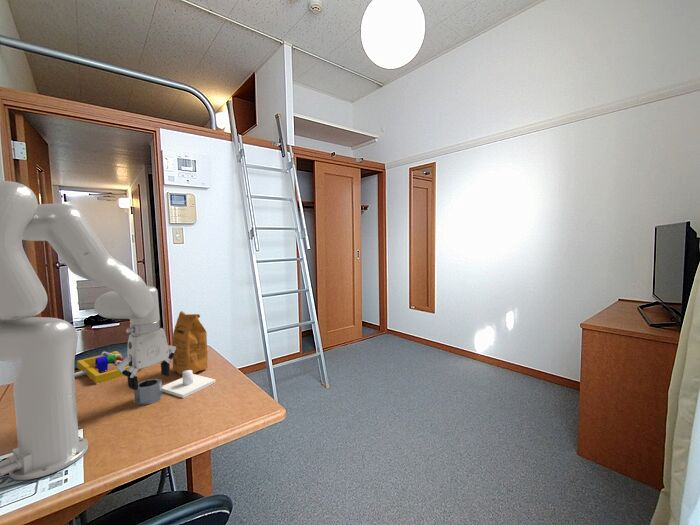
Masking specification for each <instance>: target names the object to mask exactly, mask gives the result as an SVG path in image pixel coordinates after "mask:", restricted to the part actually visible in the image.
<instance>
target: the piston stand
mask: <svg viewBox="0 0 700 525" xmlns="http://www.w3.org/2000/svg"><path fill="white" fill-rule="evenodd" d="M181 376H182V377H180V378H178V379H176V380H173V381H171V382H168V383H166V384H164V385H162V393H166V394H169V395H172V396H176V397H179V398H182V399H184V398H185V399H186V398H187V397H189V396H190V395H193V394H195V393H197V392H199V391H201V390H203V389H205V388H207V387H209V385H210V386H212V385H213V383H214V384H216V383H215V382H216V379H215V378H214V379H213V378H212V377H211V378H210V377H207V376H203V375H199V374H196V373H194V374H193V372H192V370H186V371H183V372H182V375H181ZM211 384H212V385H211Z"/></svg>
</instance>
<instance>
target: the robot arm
mask: <svg viewBox="0 0 700 525" xmlns="http://www.w3.org/2000/svg"><path fill="white" fill-rule="evenodd" d="M23 240H24V241H30V242H41V241H42V242H45V241H46V242H48V244H49V245H50V246H51V248H52V249H53V250H54V251H55V252H56V254H57V256H58V257H60V259H61V260H62V261H63V263H64V264H65V265H66V267H67V268H68V269H69V270H70V272H71V273H73V274H74V275H76V276H78V277H80V278H82V279H85V280H87V281H90V282H93V283H97V284H99V285H102V286H105V287H107V288H108V289H110V290H112V291H108V292H105V293H103V294H101V295H100V296H98V297H97V299H96V300H95V302H94V310H95V312H96V314H97V315H99V316H100V317H102V318H106V319H116V320H117V319H119V320H121V319H124V320H125V319H126V320H127V319H128V320H129V322H130V324H129V327H128V328H126V330H125V332H126V333H127V334H128V340H127V354H126V355H127V357H125V358H123V359H124V360H123V361H122V362H121V363H119V364H118V365H116V366H115V368H116V369H117V370H118V371H119V372H120V373H121V374H123V375H125V376H124V377H127V386H128V388H129V389H130V390H133V391H134V390H137V389H138V383H139V382H138V376H136V375H137V371H138V370H139V369H142V370H143V369H146V368H148V367H152V366H154V365H156V364H159V363H160V370H161V375H162V376H164V377H169V376H170V374H171V373H170V372H171V368H170V367H171V366H170V365H171V363H172V358H173V356H174V353H175V350H176V347H175V346H172V344H171V345H170V344H168V339H167V335H166V332H165V330H164V328H163V327H161V316H160V307H159V306H160V305H159V304H160V303H159V292H158V289H157V288H156V287H155V286H150V285H147V283H146V282H145V281H144V280H143V278H142V277H141V276H140V275H139V274H137V272H136V271H134V270H132V269H131V268H130V267H128V266H127V265H125V264H124V263H123V262H122V261H119V260H118V259H116V258H115V257H113V256H112V255H111V254H110V253H109V252H108V250H107V249H106V247H105V246H104V245H103V243H102V241H101V240H100V238H99V236H98V235H97V234H96V232H95V230H94V229H93V228H92V227H91V224H90V223H89V222H88V220H87V219H86V217H85V216H84V215H83V213H82V212H81V210H79V208H77V207H75V206H73V205H69V204H67V203H39V202H38V199H37V195H36V194H35V192H34V191H33V190H32V189H31V188H30V187H28V186H27V185H25V184H22V183H20V182H17V181H10V180H0V362H9V363H11V362H12V363H19V364H20V365H19V369H18V372H17V374H16V375H15V376H16V377H15V379H14V382H13V400H14V412H15V425H16V436H17V437H16V439H17V447H16V448H14V449H12V454H11V455H9V456H7V457H6V459H3V460H1V461H0V478H1V477H3V476H5V475H7V474H8V475H10V476H9V478H11V479H12V478H13V479H12V480H17V481H28V480H33V479H38V478H42V477H46V476H48V475H51V474H53V473H56V472H58V471H61V470H63V469H65V468H66V467H68V466H70V465H72V464H74V463H75V462H76V461H78V460H79V459H81V458H82V457H83V456H84V455H85V454H86V452H87V451H88V449H89V441H88V440H87V439H86V438H83V437H80V436H79V422H78V408H77V394H76V393H77V392H76V380H75V378H76V377H74V373H75V358H76V352H77V346H78V340H79V339H78V338H79V337H78V331H77V329H76V327H74V325H73V324H72V323H70V322H69V321H67V320H64V319H61V318H58V317H48V316H47V317H46V316H45V317H44V316H43V317H41V316H37V315H39V314H41V313H42V312H43V311H44V310H45V308H47V304H48V294H47V291H46V289H45V287H44V286H43V283H42V281H41V280H40V278H39V276H38V275H37V273H36V271H35V269H34V267H33V266H32V264H31V262H30V260H29V258H28V256H27V254H26V252H25V250H24V247H23ZM127 364H128V365H129V369H128V370H126V369H125V366H126V365H127ZM116 369H115V370H116Z"/></svg>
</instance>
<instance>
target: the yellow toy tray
mask: <svg viewBox="0 0 700 525" xmlns="http://www.w3.org/2000/svg"><path fill="white" fill-rule="evenodd" d="M124 359H125V358H123V354H122V353H121V352H119V351H116V350H115V351H110V352H107V351H102V352H101V353H100V355H95V356H92V357H88V358H84V359H79V360H77V361H76V362H77V363H76V364H77V369H78V370H79V371H77V372H74V377H75V378H76V377H81V376H86V375H87V376H88V377H89V379H90V380H91V379H92V380H93V381H94V382H95V383H96V384H95V383H94V382H93V381H92V380H91V381H92V382H93V383H94V384H95V385H98V384H97V383H100V384H102V383H101V382H103V383H105V382H104V381H107V382H109V380H110V381H113V380H112V379H114V380H116V379H115V378H117V379H119V378H118V377H121V378H123V377H122V376H124V377H126V376H125V375H123V374H121V373H120V372H119V371H118V370H117V369H113V370H109V369H108V368H109V363H111V362H114V364H115V365H116V366H117V365H118V364H119V363H121V362H122V361H123V360H124ZM125 369H126V370H128V369H129V365H128V364H127V365H126V366H125ZM81 370H82V371H81ZM105 370H107V371H105ZM142 370H143V369H139V370H138V371H137V372H138V373H140V372H139V371H141V372H142ZM101 371H104V372H101ZM98 372H100V373H98ZM85 374H86V375H85ZM87 376H86V377H87ZM88 377H87V378H88Z"/></svg>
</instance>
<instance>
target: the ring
mask: <svg viewBox="0 0 700 525" xmlns="http://www.w3.org/2000/svg"><path fill="white" fill-rule="evenodd" d="M162 384H163V382H162V379H159V378H150V379H145V380H142V381H140V382H138V389H137V390H133V393H134V396H133V397H134V404H135V405H138V406H145V405H151V404H154V403H156V402H159V401H160V400H161V399H162V397H163V392H162V386H163V385H162Z"/></svg>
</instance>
